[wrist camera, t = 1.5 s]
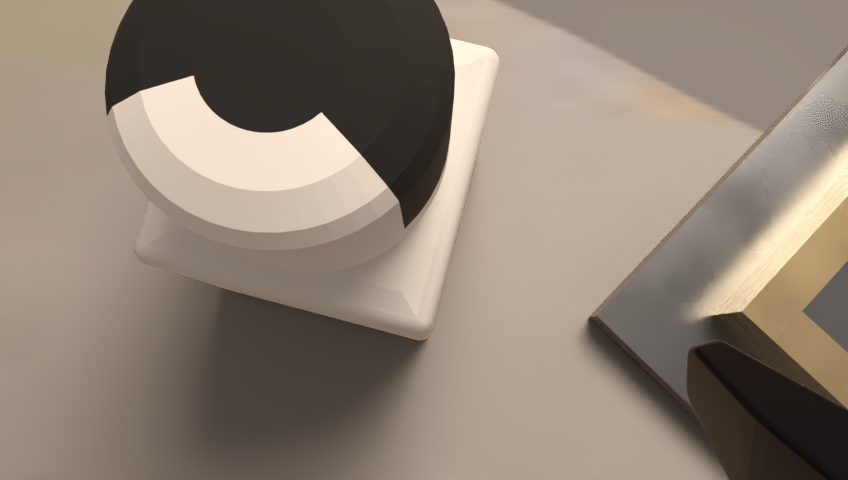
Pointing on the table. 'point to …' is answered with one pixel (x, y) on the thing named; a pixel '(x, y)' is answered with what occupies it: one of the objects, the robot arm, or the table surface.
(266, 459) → the table surface
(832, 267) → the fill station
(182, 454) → the table surface
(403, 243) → the medicine bottle
